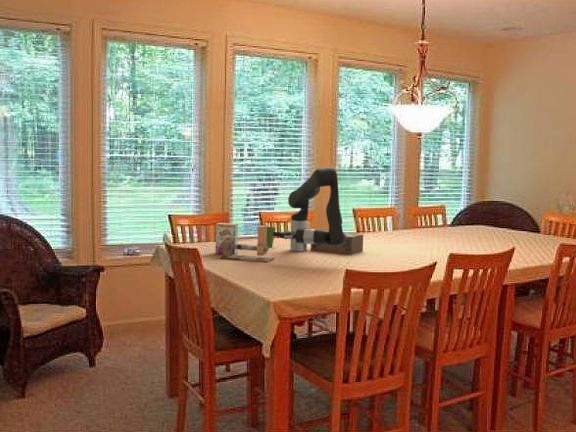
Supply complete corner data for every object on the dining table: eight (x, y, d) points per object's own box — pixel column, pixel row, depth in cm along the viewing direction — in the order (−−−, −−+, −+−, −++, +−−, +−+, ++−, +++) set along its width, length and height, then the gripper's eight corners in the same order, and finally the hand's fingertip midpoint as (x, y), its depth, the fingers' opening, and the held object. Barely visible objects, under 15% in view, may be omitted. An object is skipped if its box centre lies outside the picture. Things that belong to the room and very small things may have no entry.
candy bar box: (215, 253, 336) (215, 223, 334) (218, 252, 341) (218, 222, 339) (234, 255, 333) (235, 224, 331) (237, 253, 338) (238, 223, 336)
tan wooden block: (261, 253, 323) (261, 225, 322) (266, 253, 322) (267, 225, 321) (257, 255, 318) (257, 226, 316) (262, 255, 317) (263, 226, 315)
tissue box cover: (310, 250, 357) (311, 233, 356) (322, 247, 369) (323, 230, 368) (351, 255, 343) (352, 237, 342) (362, 251, 356) (363, 234, 354)
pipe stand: (227, 255, 331) (228, 239, 330) (274, 259, 323) (274, 243, 323) (220, 258, 322) (220, 242, 321) (267, 262, 314) (267, 246, 313)
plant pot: (277, 245, 369) (277, 226, 368) (274, 248, 357) (275, 229, 356) (257, 244, 370) (257, 226, 369) (254, 248, 359) (254, 228, 357)
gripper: (310, 227, 317) (277, 225, 323) (302, 230, 305) (269, 228, 310) (309, 241, 318) (277, 239, 324) (302, 245, 306) (268, 243, 311)
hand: (273, 233), depth 317 cm, fingers closed
